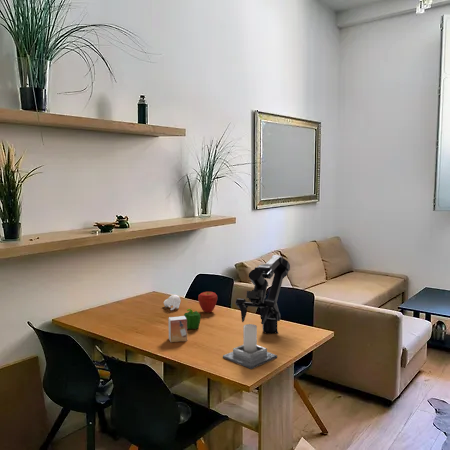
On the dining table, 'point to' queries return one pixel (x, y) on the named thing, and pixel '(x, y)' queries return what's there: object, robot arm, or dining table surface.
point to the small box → (177, 329)
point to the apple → (207, 301)
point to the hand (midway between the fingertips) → (252, 323)
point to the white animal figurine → (172, 302)
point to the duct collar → (250, 357)
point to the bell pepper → (192, 319)
